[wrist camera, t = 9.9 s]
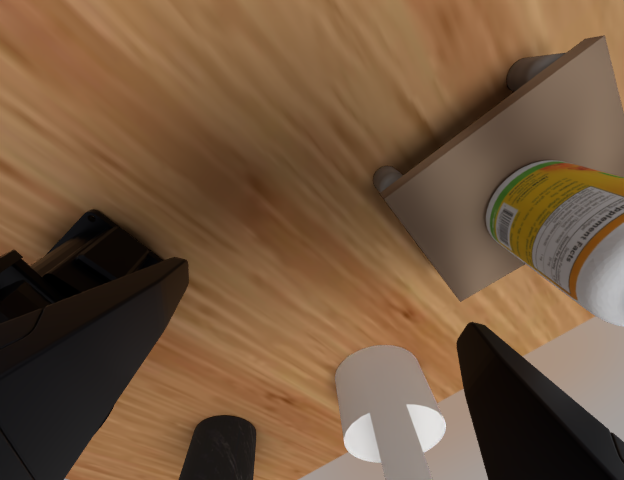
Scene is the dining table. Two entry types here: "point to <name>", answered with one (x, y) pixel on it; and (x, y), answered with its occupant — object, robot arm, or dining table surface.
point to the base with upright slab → (388, 411)
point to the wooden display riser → (508, 160)
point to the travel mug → (221, 450)
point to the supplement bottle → (566, 231)
